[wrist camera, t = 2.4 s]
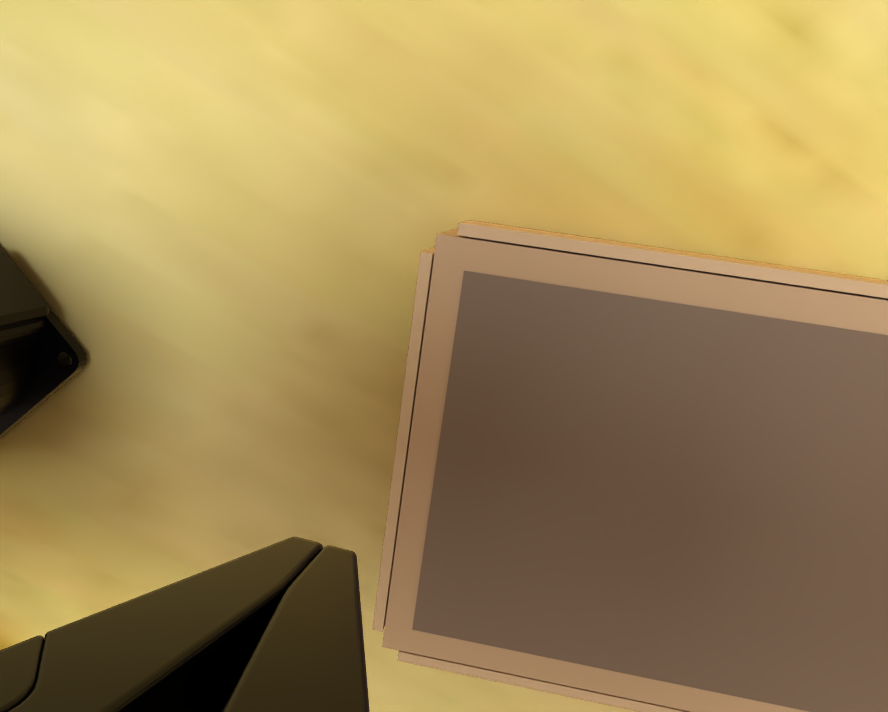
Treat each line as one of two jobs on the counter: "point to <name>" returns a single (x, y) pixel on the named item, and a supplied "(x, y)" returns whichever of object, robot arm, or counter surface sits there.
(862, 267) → the counter surface
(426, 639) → the carton
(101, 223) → the counter surface
